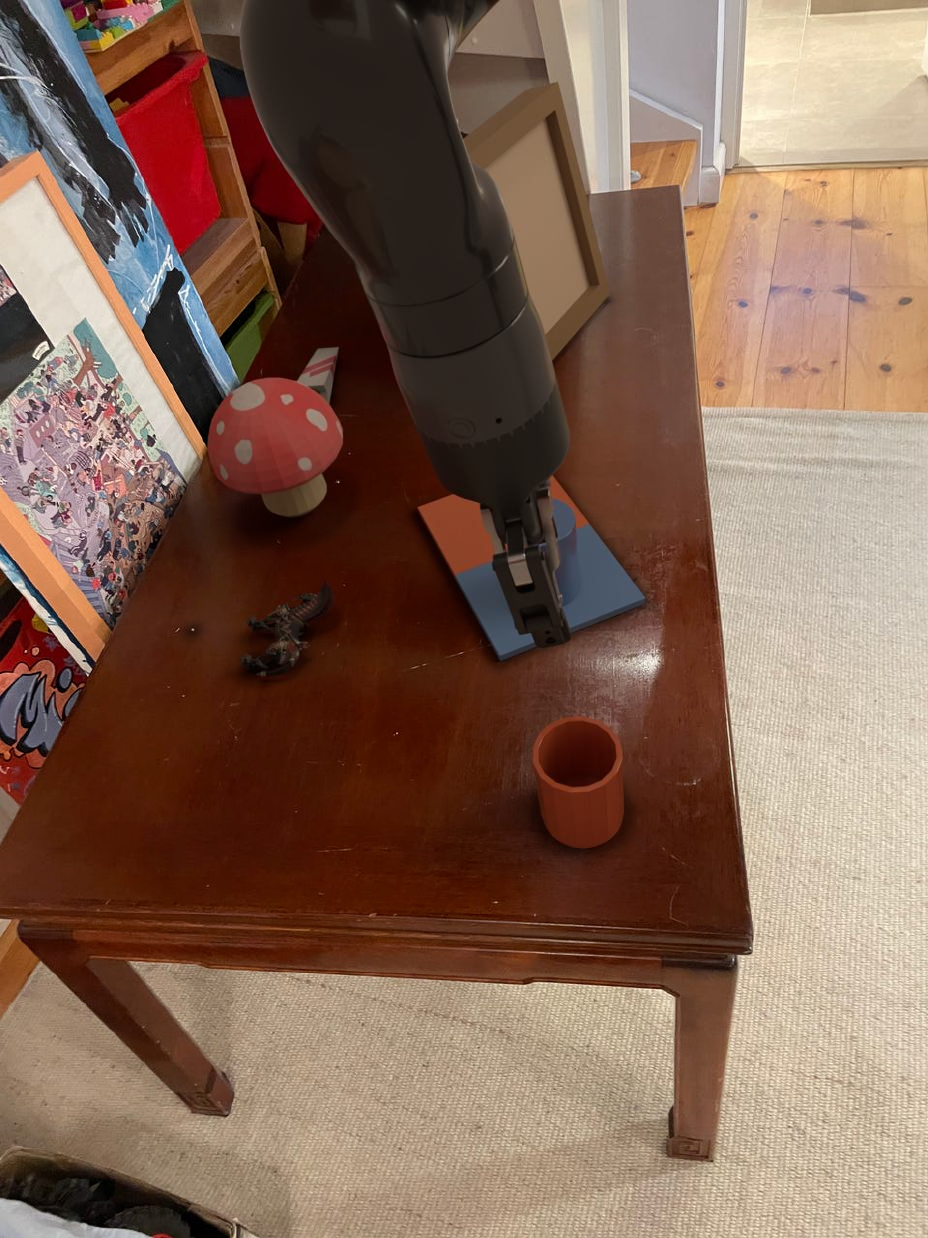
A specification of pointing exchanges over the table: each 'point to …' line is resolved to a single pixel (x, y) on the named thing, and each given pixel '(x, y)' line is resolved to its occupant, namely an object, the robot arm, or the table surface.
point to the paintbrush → (321, 372)
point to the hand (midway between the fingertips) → (547, 587)
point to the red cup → (579, 781)
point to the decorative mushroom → (275, 443)
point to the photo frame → (545, 208)
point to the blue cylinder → (566, 551)
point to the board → (471, 567)
